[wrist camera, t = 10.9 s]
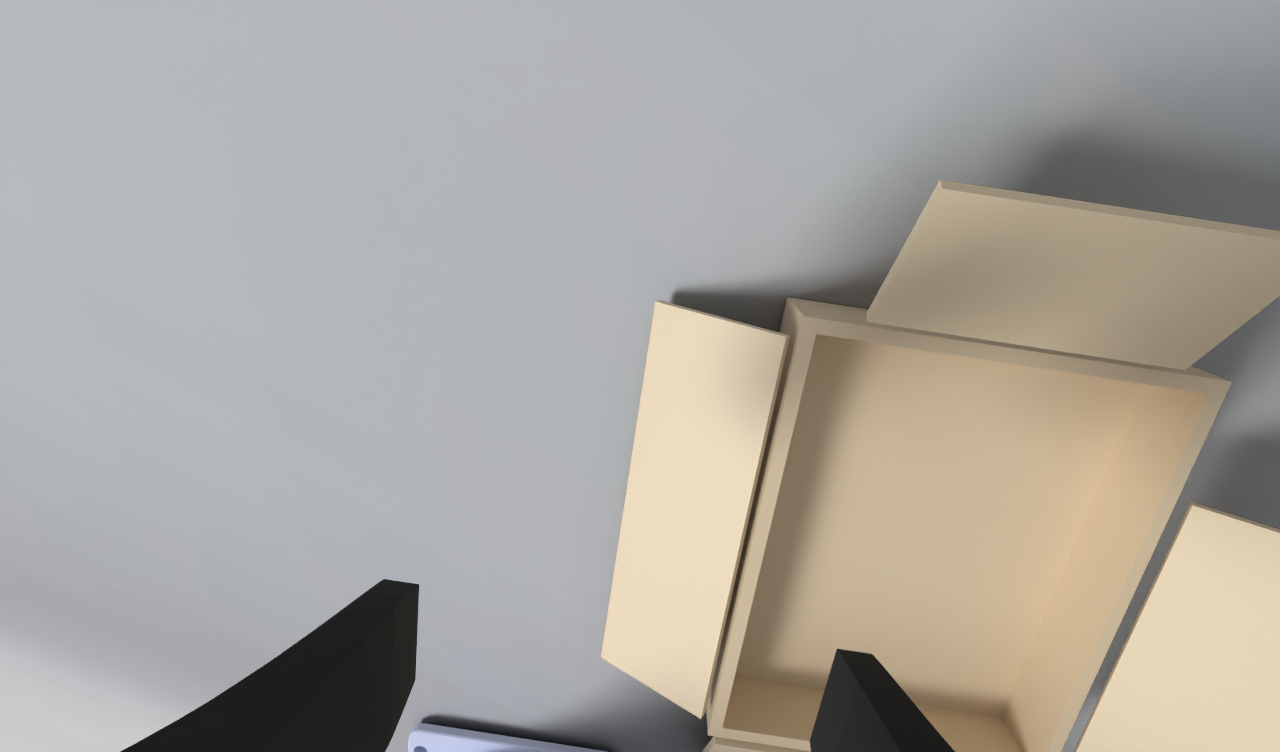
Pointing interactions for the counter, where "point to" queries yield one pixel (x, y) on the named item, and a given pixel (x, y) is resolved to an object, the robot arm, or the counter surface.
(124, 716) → the counter surface
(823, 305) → the carton
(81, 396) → the counter surface
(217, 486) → the counter surface
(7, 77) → the counter surface
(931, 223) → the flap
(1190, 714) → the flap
